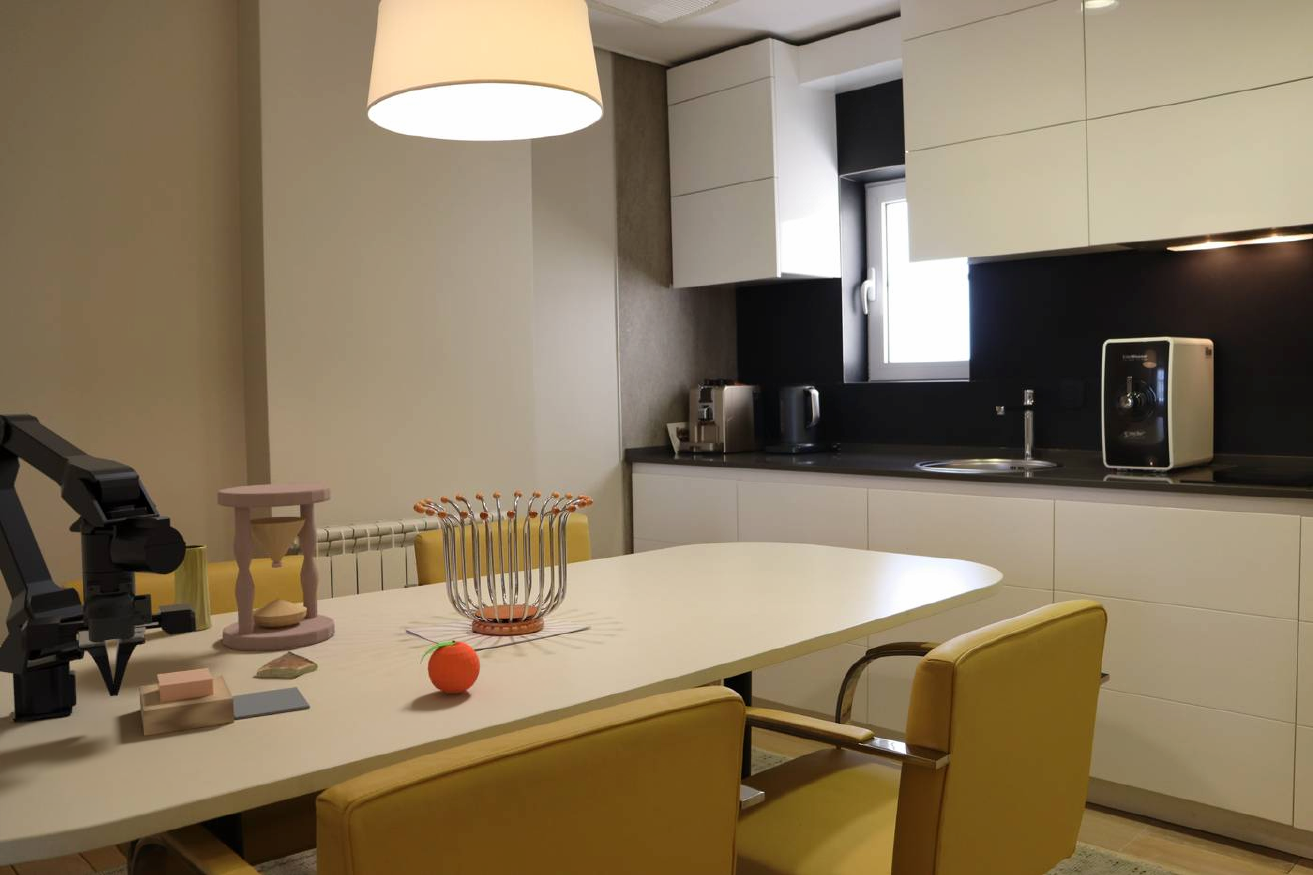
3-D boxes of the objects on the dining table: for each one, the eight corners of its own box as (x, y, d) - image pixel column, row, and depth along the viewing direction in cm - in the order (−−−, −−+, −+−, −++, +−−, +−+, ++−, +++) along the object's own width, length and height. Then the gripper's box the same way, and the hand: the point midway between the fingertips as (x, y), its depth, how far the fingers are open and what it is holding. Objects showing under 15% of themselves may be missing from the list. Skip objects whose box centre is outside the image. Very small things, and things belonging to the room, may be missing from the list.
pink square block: (160, 701, 129) (159, 685, 129) (157, 689, 135) (157, 674, 135) (213, 694, 132) (212, 678, 132) (208, 683, 138) (208, 667, 137)
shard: (289, 660, 162) (288, 649, 162) (336, 661, 161) (336, 649, 161) (254, 680, 152) (253, 668, 151) (304, 681, 151) (304, 668, 150)
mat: (235, 719, 132) (235, 717, 132) (226, 699, 141) (226, 696, 141) (309, 708, 136) (309, 705, 136) (296, 689, 145) (296, 686, 145)
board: (144, 735, 126) (143, 710, 126) (140, 709, 137) (139, 686, 136) (234, 722, 131) (233, 698, 131) (223, 697, 141) (222, 675, 141)
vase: (167, 628, 183) (164, 547, 183) (202, 622, 188) (199, 542, 187) (182, 633, 179) (179, 550, 179) (218, 627, 184) (215, 546, 183)
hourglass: (254, 657, 163) (248, 495, 162) (203, 640, 175) (198, 489, 173) (355, 636, 176) (350, 486, 175) (301, 621, 188) (297, 481, 186)
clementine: (426, 704, 137) (424, 650, 137) (415, 690, 143) (414, 638, 143) (486, 696, 140) (485, 643, 140) (473, 683, 146) (472, 632, 146)
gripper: (15, 587, 117) (21, 725, 118) (197, 571, 126) (202, 700, 127) (21, 573, 127) (27, 700, 128) (189, 558, 136) (194, 678, 137)
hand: (114, 695), depth 130 cm, fingers closed
